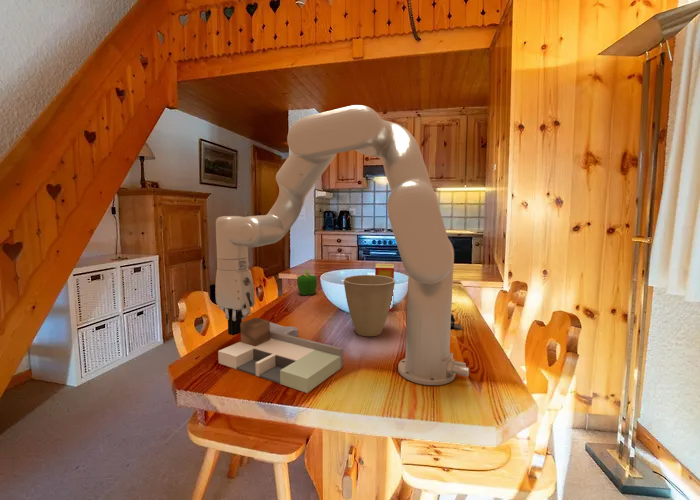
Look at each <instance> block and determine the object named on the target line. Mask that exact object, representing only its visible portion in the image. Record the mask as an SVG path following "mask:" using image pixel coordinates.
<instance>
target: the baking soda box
mask: <svg viewBox="0 0 700 500" xmlns="http://www.w3.org/2000/svg"><path fill="white" fill-rule="evenodd" d="M374 273H375V274H374V275H379V276H386V277H391V278H393V279H395V264H394V263H375V269H374ZM389 312H392V313H394V306H393V307H392V308H391V309H389Z"/></svg>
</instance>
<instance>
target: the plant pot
mask: <svg viewBox="0 0 700 500" xmlns="http://www.w3.org/2000/svg"><path fill="white" fill-rule="evenodd" d="M395 283H396V280H395V278H394V279H393V278H391V277H386V276H379V275H375V274H373V275H372V274H361V275H360V274H358V275H357V274H356V275H349V276H347V277H345V278H343V285H344V293H345V298H346V299H345V300H346V304H347V308H348V311H349V315H350V319H351V321H352V324H353V327H354V330H355V332H356V334H358V335H359V336H362V337H376V336H380V335H381V333H382V332H383V330H384V326H385V324H386V321H387V319H388V315H389V312H390V311H389V309H390V305H391V301H392V296H393V297H394V292H393V290H394V291H395Z"/></svg>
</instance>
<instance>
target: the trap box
mask: <svg viewBox="0 0 700 500" xmlns="http://www.w3.org/2000/svg"><path fill="white" fill-rule="evenodd" d="M343 351H344V348H343V347H340V346H334V345H332V344H331V345H330V344H327V343H323V342H317V341H314V340H310V339H306V338H302V337H299V336H298V337H294V336H290V335H286V334H282V333H278V332H274V331H270V340H269V341H267V342H264V343H262V344H260V345H258V346H252V345H249V344H245V343H242V342H241V341H239V342H236V343H233V344H231V345H229V346H226V347H224V348H222V349H219V350H218V351H217V353H218V354H217V355H218V357H217V358H218V364H220V365H223V366H226V367H229V368H232V369H235V370H238V371H240V372H243V373H247V374H249V375H252V376H255V377H259V378H262V379H265V380H267V381H270V382H273V383H276V384H279V385H283V386H286V387H288V388H291V389H294V390H297V391H299V392H303V393H306V394H308V393H310V392H311V391H312V390H314V388H316V387H318V386H319V385H320V384H322V382H324V381H326V380H327V379H328V378H329V377H331V376H332V375H334V374H335V373H337V372H338V371H339V370H341V369H342V368H343V365H344V364H343V363H344V361H343V357H344V355H343V354H344V352H343Z"/></svg>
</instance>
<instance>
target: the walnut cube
mask: <svg viewBox="0 0 700 500" xmlns="http://www.w3.org/2000/svg"><path fill="white" fill-rule="evenodd" d="M270 322H271V321H270V320H268V319H267V320H266V319H263V318H259V317H254V318H251V319H248V320H244V321H242V323H240V325H241V333H240V342H242V343H245V344H249V345H252V346H258V345H260V344H262V343H264V342H267V341H269V340H270Z"/></svg>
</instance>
